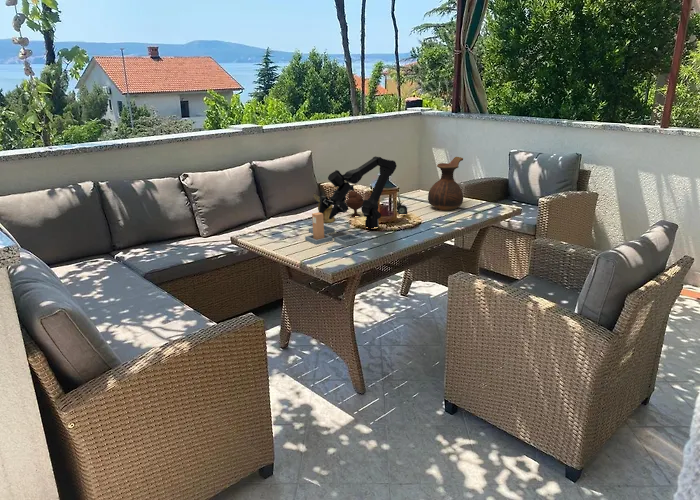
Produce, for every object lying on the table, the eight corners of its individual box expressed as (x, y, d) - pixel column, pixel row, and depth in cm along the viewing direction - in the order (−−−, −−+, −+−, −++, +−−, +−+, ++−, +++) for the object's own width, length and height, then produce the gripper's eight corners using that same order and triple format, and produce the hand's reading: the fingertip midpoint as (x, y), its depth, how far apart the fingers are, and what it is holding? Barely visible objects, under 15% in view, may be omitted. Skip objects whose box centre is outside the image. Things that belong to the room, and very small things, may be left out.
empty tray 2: (350, 238, 285) (349, 233, 285) (362, 242, 278) (362, 237, 277) (334, 242, 280) (334, 237, 279) (346, 246, 272) (345, 242, 271)
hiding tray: (321, 237, 289) (321, 232, 288) (332, 241, 281) (332, 236, 281) (305, 241, 283) (305, 236, 283) (316, 245, 276) (316, 240, 275)
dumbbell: (394, 218, 326) (389, 202, 324) (394, 213, 348) (390, 198, 346) (408, 214, 325) (404, 198, 323) (408, 209, 347) (403, 194, 345)
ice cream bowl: (352, 219, 321) (351, 194, 317) (343, 215, 331) (342, 190, 326) (368, 216, 326) (367, 191, 321) (359, 213, 336) (358, 188, 331)
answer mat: (340, 233, 295) (340, 232, 295) (350, 236, 288) (350, 235, 288) (326, 236, 290) (326, 235, 290) (336, 240, 283) (336, 239, 283)
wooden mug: (310, 223, 317) (308, 192, 311) (327, 218, 326) (326, 188, 320) (320, 225, 311) (319, 194, 305) (338, 221, 319) (337, 190, 314)
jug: (466, 212, 330) (468, 161, 320) (430, 213, 330) (430, 162, 321) (460, 203, 350) (461, 155, 341) (426, 204, 351) (426, 156, 341)
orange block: (320, 238, 285) (318, 212, 281) (324, 240, 282) (323, 213, 277) (313, 240, 282) (311, 213, 278) (317, 242, 279) (316, 215, 275)
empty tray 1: (324, 229, 303) (323, 224, 303) (334, 233, 296) (334, 228, 295) (308, 232, 298) (308, 228, 297) (319, 236, 290) (318, 232, 289)
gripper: (361, 204, 282) (344, 229, 279) (339, 198, 296) (323, 222, 293) (348, 191, 275) (331, 217, 272) (327, 186, 289) (310, 210, 286)
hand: (324, 217), depth 281 cm, fingers open, 9 cm apart
